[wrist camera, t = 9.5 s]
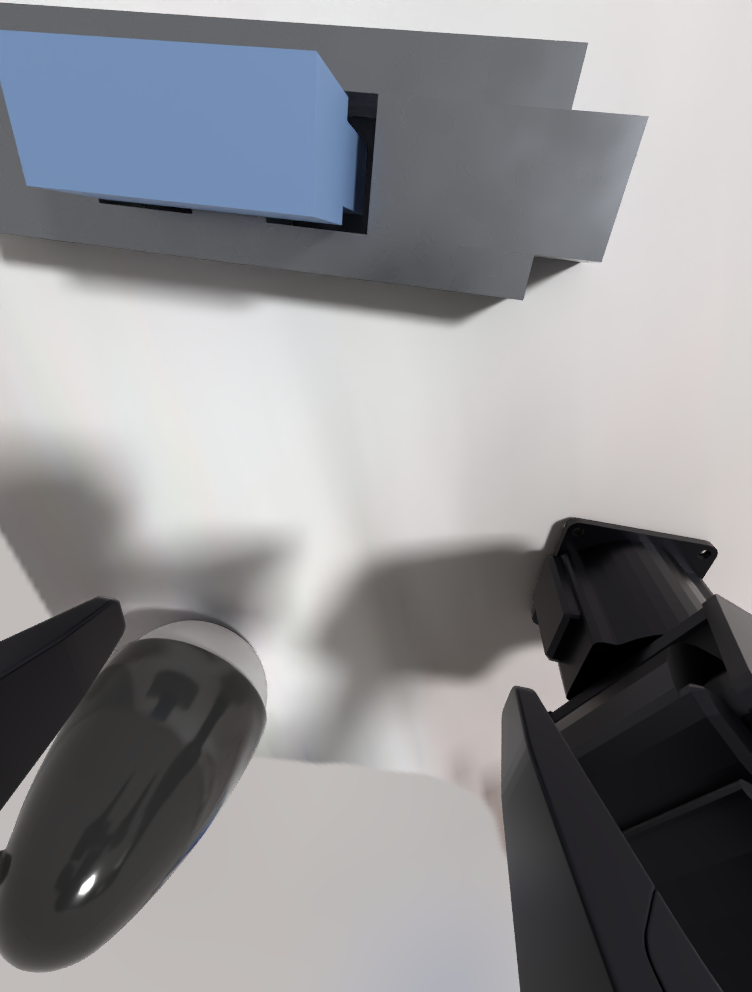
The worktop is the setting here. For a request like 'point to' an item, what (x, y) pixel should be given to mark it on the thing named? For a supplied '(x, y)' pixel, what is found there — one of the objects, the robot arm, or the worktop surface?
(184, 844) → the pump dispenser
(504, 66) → the rail
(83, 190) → the blue notched pillar
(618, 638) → the robot arm
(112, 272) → the worktop surface
